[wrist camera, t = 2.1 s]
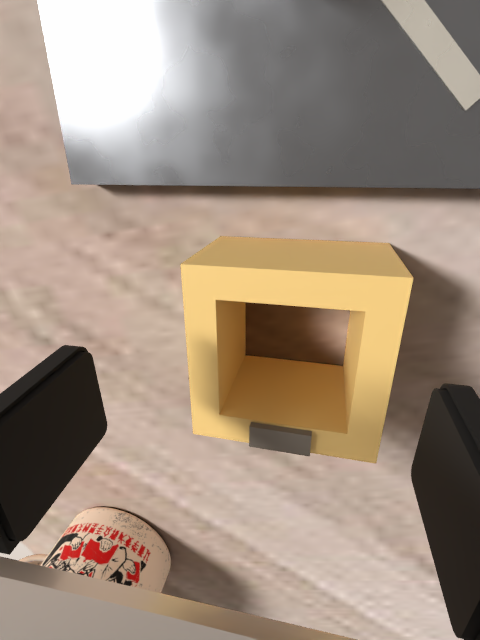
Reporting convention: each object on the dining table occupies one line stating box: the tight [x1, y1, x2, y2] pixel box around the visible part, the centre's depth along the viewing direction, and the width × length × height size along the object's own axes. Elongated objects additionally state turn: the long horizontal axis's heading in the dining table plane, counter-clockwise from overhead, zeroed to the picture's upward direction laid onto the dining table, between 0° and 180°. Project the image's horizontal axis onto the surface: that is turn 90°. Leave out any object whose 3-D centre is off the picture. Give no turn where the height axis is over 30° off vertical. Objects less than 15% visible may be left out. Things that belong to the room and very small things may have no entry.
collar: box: [181, 236, 413, 463], centre depth 15 cm, size 7×7×5 cm
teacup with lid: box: [18, 507, 171, 593], centre depth 24 cm, size 12×9×12 cm
